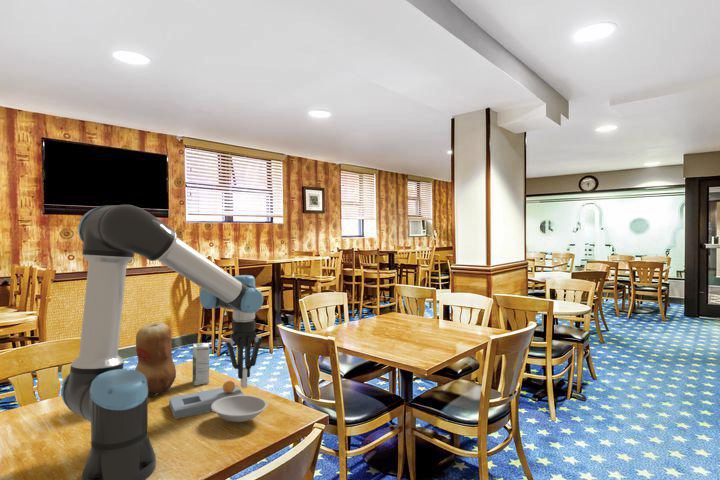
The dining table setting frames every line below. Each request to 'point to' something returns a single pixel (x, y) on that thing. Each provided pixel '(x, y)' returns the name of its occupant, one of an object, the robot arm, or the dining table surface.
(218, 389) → the hole plate
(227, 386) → the ball
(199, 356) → the syrup box
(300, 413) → the dining table surface
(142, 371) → the butternut squash
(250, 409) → the dish
